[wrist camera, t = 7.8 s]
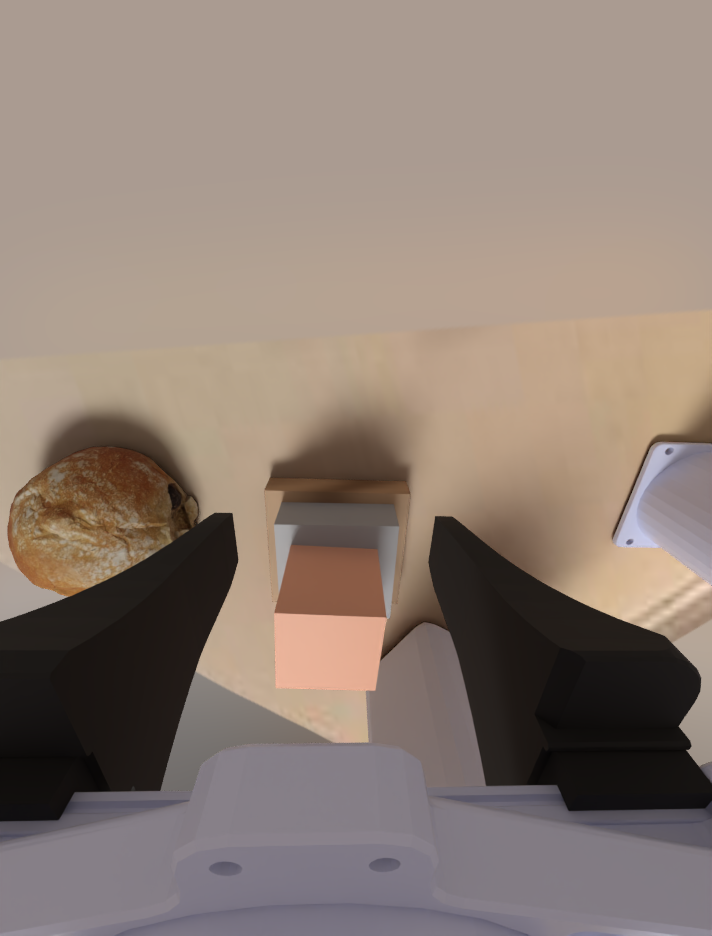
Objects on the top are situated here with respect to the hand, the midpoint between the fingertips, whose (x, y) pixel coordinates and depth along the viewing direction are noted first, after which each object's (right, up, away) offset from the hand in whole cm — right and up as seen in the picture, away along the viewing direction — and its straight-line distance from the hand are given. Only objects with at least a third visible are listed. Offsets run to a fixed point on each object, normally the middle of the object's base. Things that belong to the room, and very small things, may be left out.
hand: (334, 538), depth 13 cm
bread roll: (-15, -1, +12) cm, 19 cm away
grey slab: (0, -3, +11) cm, 11 cm away
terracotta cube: (-1, -4, +9) cm, 10 cm away
